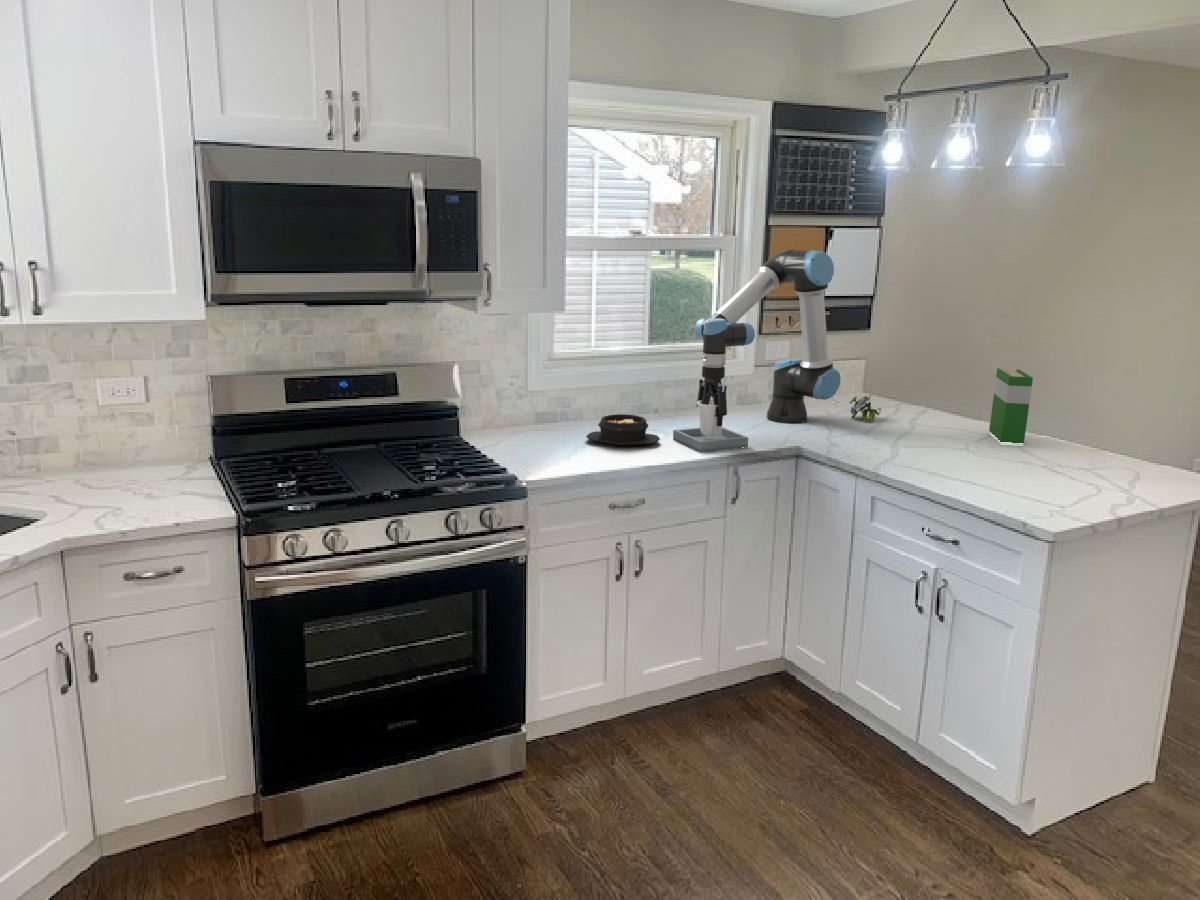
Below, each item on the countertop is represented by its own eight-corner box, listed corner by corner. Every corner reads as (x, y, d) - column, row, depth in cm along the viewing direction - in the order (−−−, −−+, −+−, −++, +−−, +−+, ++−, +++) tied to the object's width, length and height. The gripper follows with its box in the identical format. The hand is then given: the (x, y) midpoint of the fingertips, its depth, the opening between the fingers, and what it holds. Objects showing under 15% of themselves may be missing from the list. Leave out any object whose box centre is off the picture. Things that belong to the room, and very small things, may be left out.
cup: (724, 431, 308) (726, 400, 305) (725, 438, 299) (727, 406, 296) (695, 430, 309) (696, 399, 306) (695, 437, 300) (696, 405, 297)
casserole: (581, 447, 298) (581, 422, 296) (592, 434, 316) (592, 411, 314) (655, 451, 293) (656, 426, 291) (662, 438, 311) (663, 415, 309)
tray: (718, 435, 317) (719, 425, 316) (747, 447, 300) (748, 437, 299) (673, 439, 309) (673, 430, 308) (700, 452, 293) (700, 442, 292)
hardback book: (988, 433, 325) (997, 368, 319) (1010, 435, 324) (1019, 369, 318) (1000, 445, 308) (1009, 376, 302) (1023, 446, 307) (1032, 377, 301)
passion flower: (852, 432, 348) (845, 404, 353) (880, 427, 347) (873, 399, 352) (855, 421, 338) (848, 392, 342) (884, 417, 337) (877, 388, 341)
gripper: (687, 361, 306) (685, 426, 312) (720, 371, 287) (717, 440, 293) (706, 360, 309) (704, 424, 315) (740, 370, 290) (736, 438, 296)
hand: (710, 432), depth 304 cm, fingers closed on cup, 8 cm apart
